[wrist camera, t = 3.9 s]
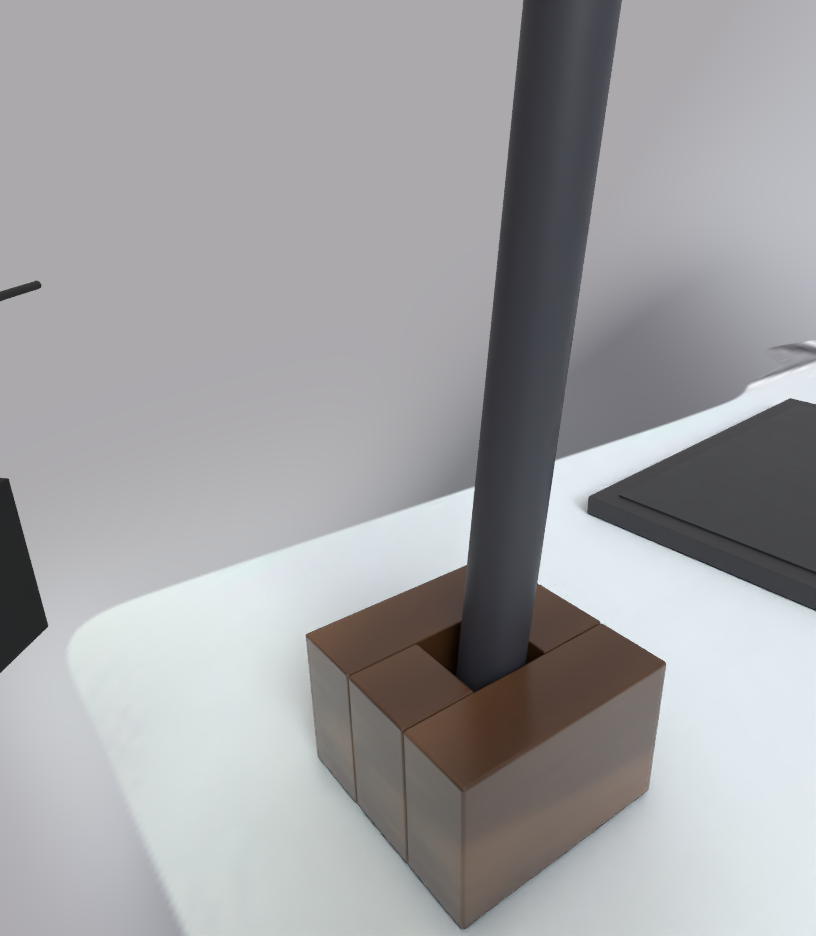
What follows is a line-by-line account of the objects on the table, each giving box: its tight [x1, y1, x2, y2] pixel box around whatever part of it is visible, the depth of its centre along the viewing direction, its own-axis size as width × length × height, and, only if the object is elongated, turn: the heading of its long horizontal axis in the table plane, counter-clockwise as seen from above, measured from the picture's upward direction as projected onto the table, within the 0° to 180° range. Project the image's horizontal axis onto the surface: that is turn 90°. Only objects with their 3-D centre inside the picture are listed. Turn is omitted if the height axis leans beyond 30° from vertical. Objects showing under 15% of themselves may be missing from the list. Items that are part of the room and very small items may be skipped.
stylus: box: [456, 0, 622, 693], centre depth 18 cm, size 2×2×20 cm
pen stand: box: [306, 565, 666, 929], centre depth 21 cm, size 7×7×4 cm
